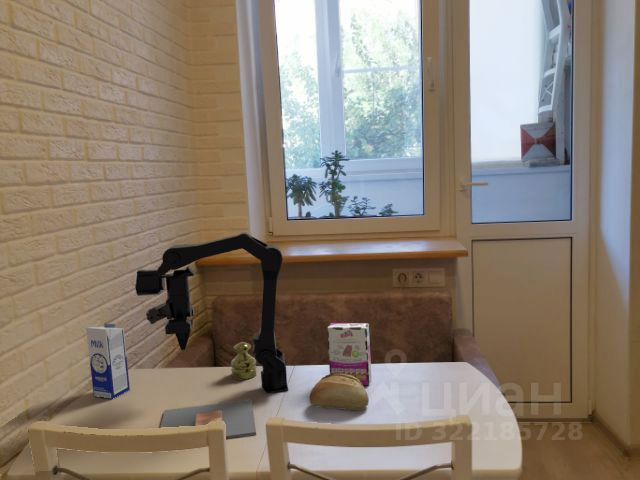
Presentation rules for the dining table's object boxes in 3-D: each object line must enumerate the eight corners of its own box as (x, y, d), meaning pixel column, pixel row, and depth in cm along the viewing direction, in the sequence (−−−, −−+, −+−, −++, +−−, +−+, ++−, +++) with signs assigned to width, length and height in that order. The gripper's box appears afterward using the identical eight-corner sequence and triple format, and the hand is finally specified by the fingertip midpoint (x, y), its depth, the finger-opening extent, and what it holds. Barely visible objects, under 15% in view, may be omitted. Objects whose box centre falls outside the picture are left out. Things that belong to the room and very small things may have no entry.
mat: (251, 401, 138) (251, 399, 138) (256, 434, 120) (256, 432, 120) (164, 412, 134) (164, 410, 134) (156, 448, 116) (156, 445, 116)
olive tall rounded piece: (261, 371, 158) (258, 339, 157) (249, 381, 151) (247, 347, 150) (239, 369, 161) (236, 338, 159) (227, 379, 154) (224, 346, 152)
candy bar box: (371, 378, 149) (369, 322, 147) (369, 386, 144) (367, 328, 142) (333, 377, 151) (330, 321, 149) (329, 384, 146) (326, 327, 144)
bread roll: (313, 397, 139) (311, 368, 137) (370, 399, 136) (369, 369, 135) (306, 414, 129) (305, 383, 128) (367, 416, 127) (366, 384, 126)
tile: (221, 410, 128) (221, 425, 121) (222, 416, 129) (222, 432, 121) (196, 413, 127) (194, 429, 120) (197, 419, 128) (195, 435, 120)
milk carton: (93, 396, 146) (85, 326, 143) (111, 387, 152) (104, 319, 149) (113, 399, 143) (105, 328, 140) (130, 389, 149) (123, 321, 147)
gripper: (151, 288, 147) (156, 342, 149) (141, 304, 129) (147, 365, 131) (192, 284, 149) (196, 338, 151) (188, 300, 131) (193, 360, 133)
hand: (183, 349), depth 142 cm, fingers closed
